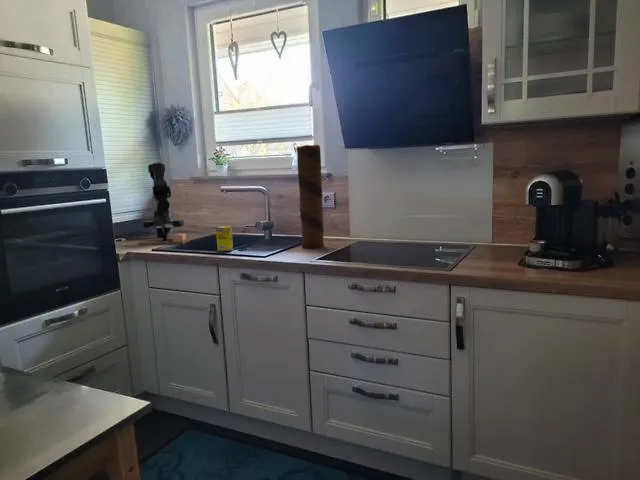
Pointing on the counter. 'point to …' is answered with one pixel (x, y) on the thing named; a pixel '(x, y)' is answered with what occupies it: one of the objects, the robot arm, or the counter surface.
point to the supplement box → (224, 239)
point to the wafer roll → (310, 195)
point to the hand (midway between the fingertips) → (165, 241)
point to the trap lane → (163, 242)
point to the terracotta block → (178, 237)
